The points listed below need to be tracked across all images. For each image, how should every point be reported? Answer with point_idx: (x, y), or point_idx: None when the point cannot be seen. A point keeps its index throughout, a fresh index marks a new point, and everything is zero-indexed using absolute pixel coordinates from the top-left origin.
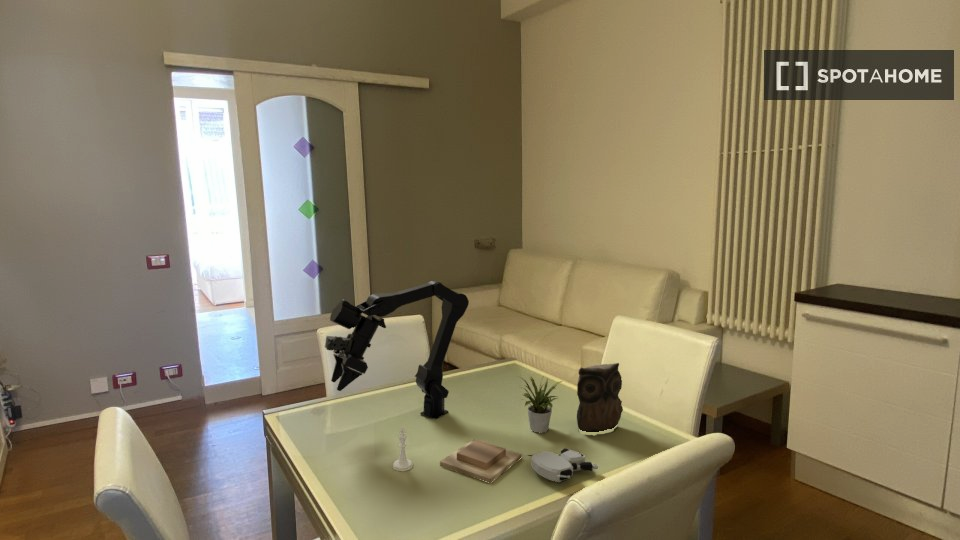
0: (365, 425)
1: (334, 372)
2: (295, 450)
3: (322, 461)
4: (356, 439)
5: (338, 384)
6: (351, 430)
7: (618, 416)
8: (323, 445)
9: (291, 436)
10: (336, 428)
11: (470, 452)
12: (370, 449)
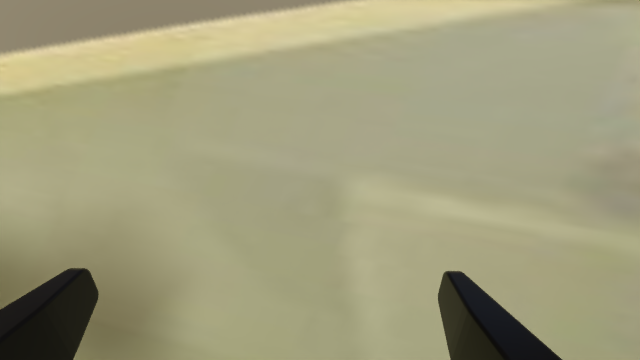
0: (361, 353)
1: (499, 357)
2: (243, 44)
3: (112, 128)
4: (240, 284)
5: (31, 305)
6: (335, 285)
7: None
8: (241, 152)
9: (382, 40)
10: (383, 230)
11: None
12: (132, 313)
